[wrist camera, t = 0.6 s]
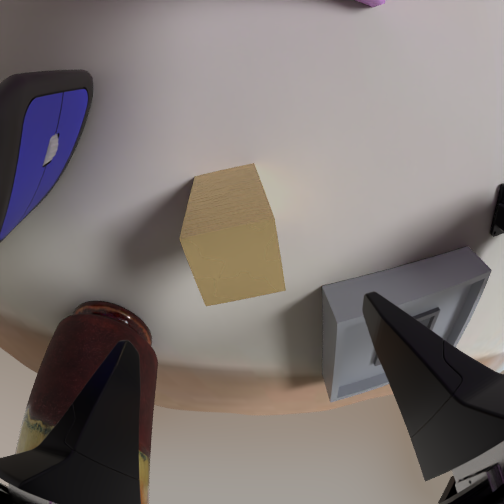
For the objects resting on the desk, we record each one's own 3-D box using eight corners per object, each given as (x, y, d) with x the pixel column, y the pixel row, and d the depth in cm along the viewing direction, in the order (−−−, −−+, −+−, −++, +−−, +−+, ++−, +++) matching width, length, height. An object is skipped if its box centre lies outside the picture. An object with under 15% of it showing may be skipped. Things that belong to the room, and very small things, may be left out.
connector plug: (253, 163, 18) (274, 218, 11) (264, 215, 20) (285, 290, 14) (194, 176, 18) (179, 239, 12) (209, 227, 20) (205, 306, 14)
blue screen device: (17, 241, 19) (-36, 312, 11) (-11, 208, 16) (-72, 270, 9) (127, 110, 15) (48, 143, 7) (90, 63, 13) (-6, 67, 5)
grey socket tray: (467, 246, 24) (491, 270, 20) (435, 335, 33) (448, 358, 30) (322, 285, 25) (337, 323, 21) (322, 373, 34) (330, 402, 30)
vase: (47, 308, 23) (-13, 536, 2) (117, 277, 22) (64, 602, 1) (109, 367, 30) (88, 562, 8) (181, 350, 28) (184, 593, 7)
